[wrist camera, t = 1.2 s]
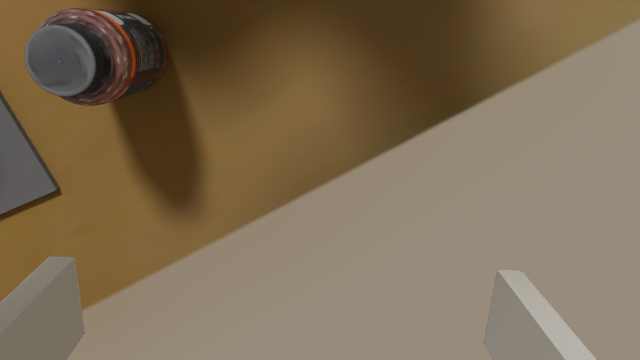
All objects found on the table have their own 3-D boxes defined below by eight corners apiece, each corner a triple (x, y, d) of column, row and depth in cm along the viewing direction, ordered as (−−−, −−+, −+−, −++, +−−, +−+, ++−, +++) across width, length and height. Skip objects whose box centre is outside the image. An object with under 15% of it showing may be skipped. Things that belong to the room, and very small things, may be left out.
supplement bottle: (135, -5, 37) (64, -19, 26) (184, 63, 38) (136, 76, 28) (75, 40, 38) (-18, 45, 27) (125, 104, 39) (56, 133, 28)
